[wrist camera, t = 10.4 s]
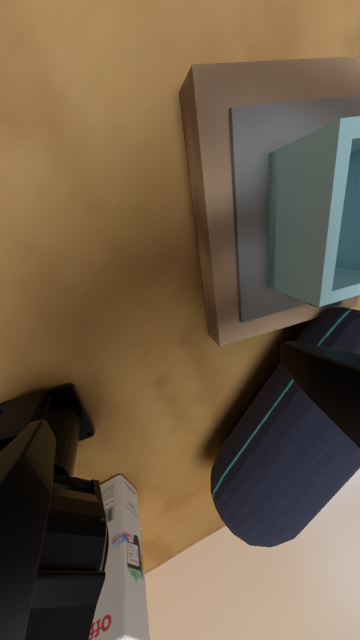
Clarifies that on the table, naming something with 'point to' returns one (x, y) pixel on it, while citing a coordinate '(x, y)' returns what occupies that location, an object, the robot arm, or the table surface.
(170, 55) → the table surface
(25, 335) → the table surface
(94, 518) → the robot arm
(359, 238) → the box
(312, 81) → the walnut stand
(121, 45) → the table surface
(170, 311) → the table surface
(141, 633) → the ink box
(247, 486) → the portable speaker
